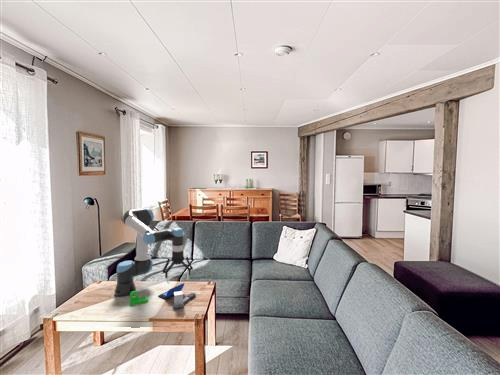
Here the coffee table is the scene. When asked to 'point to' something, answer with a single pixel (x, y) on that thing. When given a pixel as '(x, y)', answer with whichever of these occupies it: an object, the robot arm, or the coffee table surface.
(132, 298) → the mechanical part
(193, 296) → the ladle
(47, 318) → the coffee table surface
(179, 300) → the grey metal block
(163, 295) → the handheld game console
